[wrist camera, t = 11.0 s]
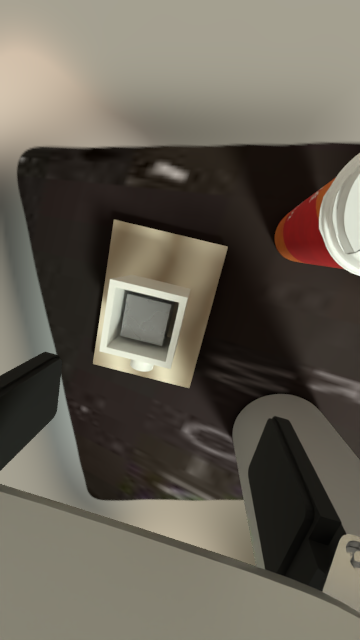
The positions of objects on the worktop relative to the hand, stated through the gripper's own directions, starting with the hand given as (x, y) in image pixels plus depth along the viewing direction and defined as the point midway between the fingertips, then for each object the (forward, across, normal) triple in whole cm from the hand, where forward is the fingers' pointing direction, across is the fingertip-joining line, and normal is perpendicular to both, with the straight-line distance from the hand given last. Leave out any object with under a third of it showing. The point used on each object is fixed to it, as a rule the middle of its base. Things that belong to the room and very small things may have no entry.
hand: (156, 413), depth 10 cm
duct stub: (+18, +4, 0) cm, 19 cm away
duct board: (+20, +4, 0) cm, 20 cm away
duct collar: (+18, +4, +2) cm, 19 cm away
